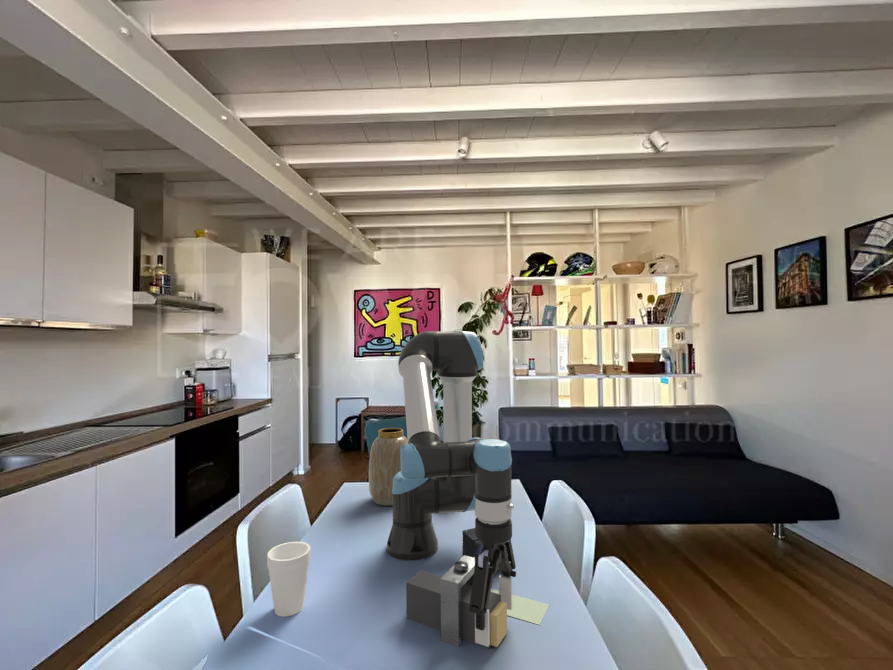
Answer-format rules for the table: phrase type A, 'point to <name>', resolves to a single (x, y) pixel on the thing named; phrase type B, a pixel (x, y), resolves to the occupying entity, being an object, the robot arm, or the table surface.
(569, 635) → the table surface
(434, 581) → the plug
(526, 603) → the mat
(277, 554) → the foam cup
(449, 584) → the frame
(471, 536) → the small box
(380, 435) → the vase
